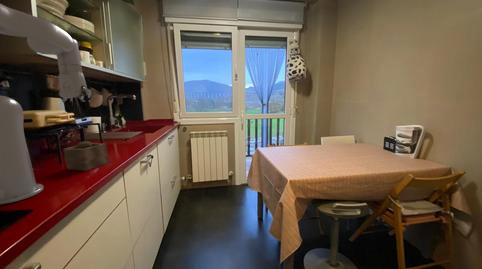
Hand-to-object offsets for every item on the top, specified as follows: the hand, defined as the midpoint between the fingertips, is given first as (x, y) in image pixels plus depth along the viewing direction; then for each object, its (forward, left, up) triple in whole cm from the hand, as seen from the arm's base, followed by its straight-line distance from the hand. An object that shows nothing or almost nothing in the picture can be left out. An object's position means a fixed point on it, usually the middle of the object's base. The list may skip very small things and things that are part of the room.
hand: (77, 111), depth 91 cm
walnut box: (0, 0, -24) cm, 24 cm away
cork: (0, 0, -25) cm, 25 cm away
